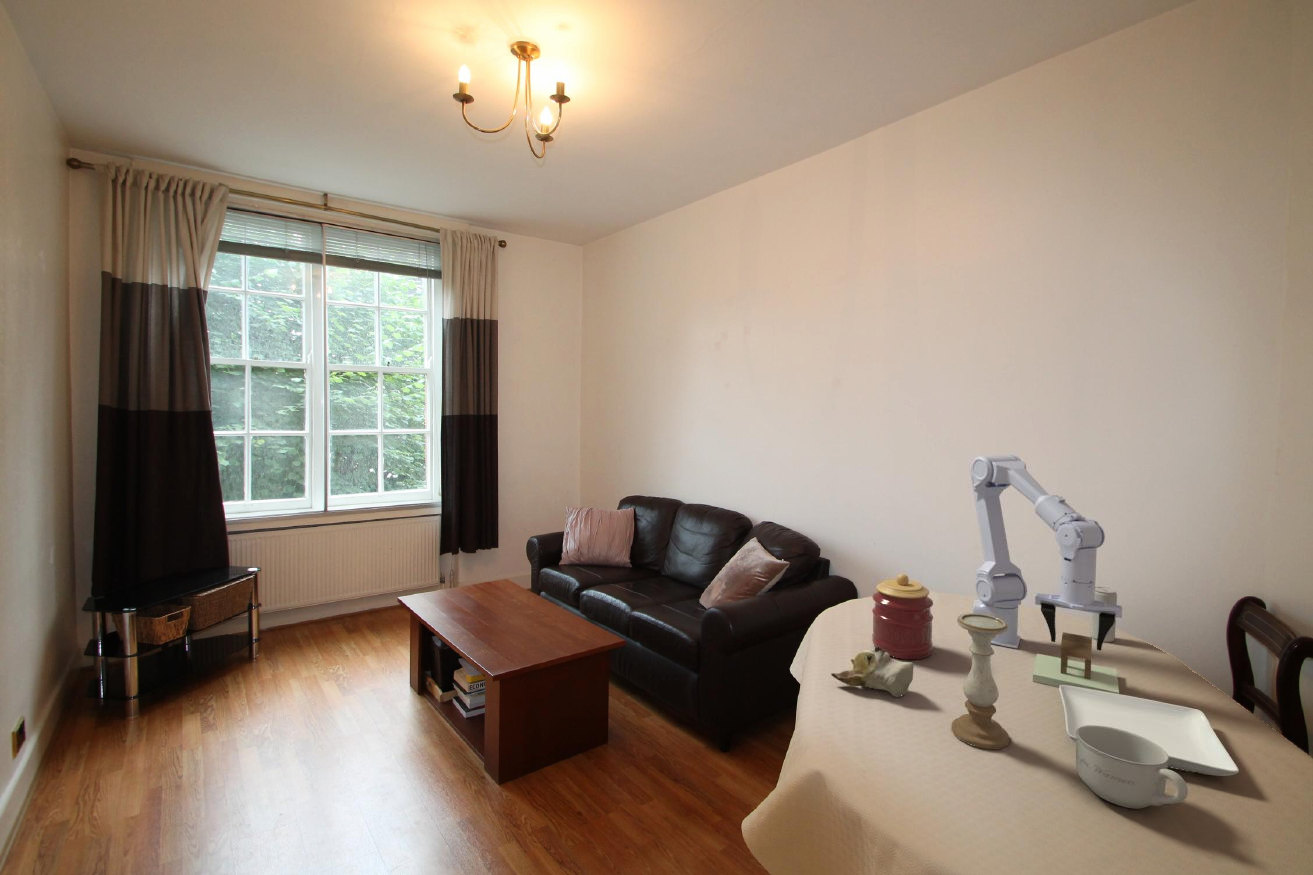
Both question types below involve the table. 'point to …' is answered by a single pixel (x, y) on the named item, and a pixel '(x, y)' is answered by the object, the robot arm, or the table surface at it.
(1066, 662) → the walnut stool
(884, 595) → the canister
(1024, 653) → the table surface
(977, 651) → the candle holder
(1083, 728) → the teacup
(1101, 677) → the sage green board
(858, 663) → the ceramic sculpture
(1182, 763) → the salad plate
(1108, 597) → the beverage can
